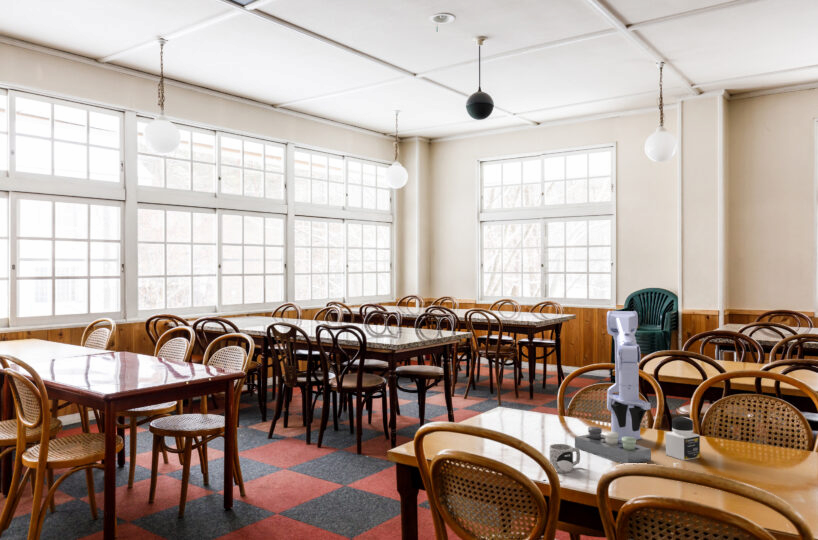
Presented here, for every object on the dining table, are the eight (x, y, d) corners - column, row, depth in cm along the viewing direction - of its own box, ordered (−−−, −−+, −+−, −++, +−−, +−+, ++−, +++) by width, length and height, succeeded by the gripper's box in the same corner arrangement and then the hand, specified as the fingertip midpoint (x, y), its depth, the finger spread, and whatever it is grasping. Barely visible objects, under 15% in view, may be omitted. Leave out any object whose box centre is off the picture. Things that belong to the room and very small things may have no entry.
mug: (558, 474, 180) (558, 451, 180) (545, 467, 186) (544, 445, 186) (587, 470, 184) (587, 447, 184) (572, 463, 190) (572, 441, 190)
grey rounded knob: (594, 438, 209) (594, 426, 209) (604, 441, 205) (604, 429, 205) (585, 440, 207) (585, 427, 207) (595, 443, 203) (595, 430, 203)
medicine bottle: (684, 461, 192) (684, 421, 192) (665, 455, 198) (665, 416, 198) (700, 457, 195) (700, 419, 195) (680, 451, 202) (680, 414, 202)
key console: (597, 443, 212) (597, 432, 212) (651, 460, 193) (650, 449, 193) (574, 447, 207) (574, 436, 207) (628, 465, 188) (627, 453, 188)
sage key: (628, 448, 197) (628, 435, 197) (639, 452, 193) (639, 438, 193) (618, 450, 195) (618, 437, 195) (629, 454, 191) (629, 440, 191)
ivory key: (611, 443, 203) (611, 430, 203) (621, 446, 199) (621, 433, 199) (601, 445, 201) (601, 432, 201) (611, 448, 197) (611, 435, 197)
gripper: (601, 382, 198) (601, 425, 198) (638, 389, 186) (639, 435, 186) (617, 380, 202) (617, 422, 202) (655, 387, 189) (655, 432, 189)
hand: (628, 428), depth 194 cm, fingers open, 5 cm apart
